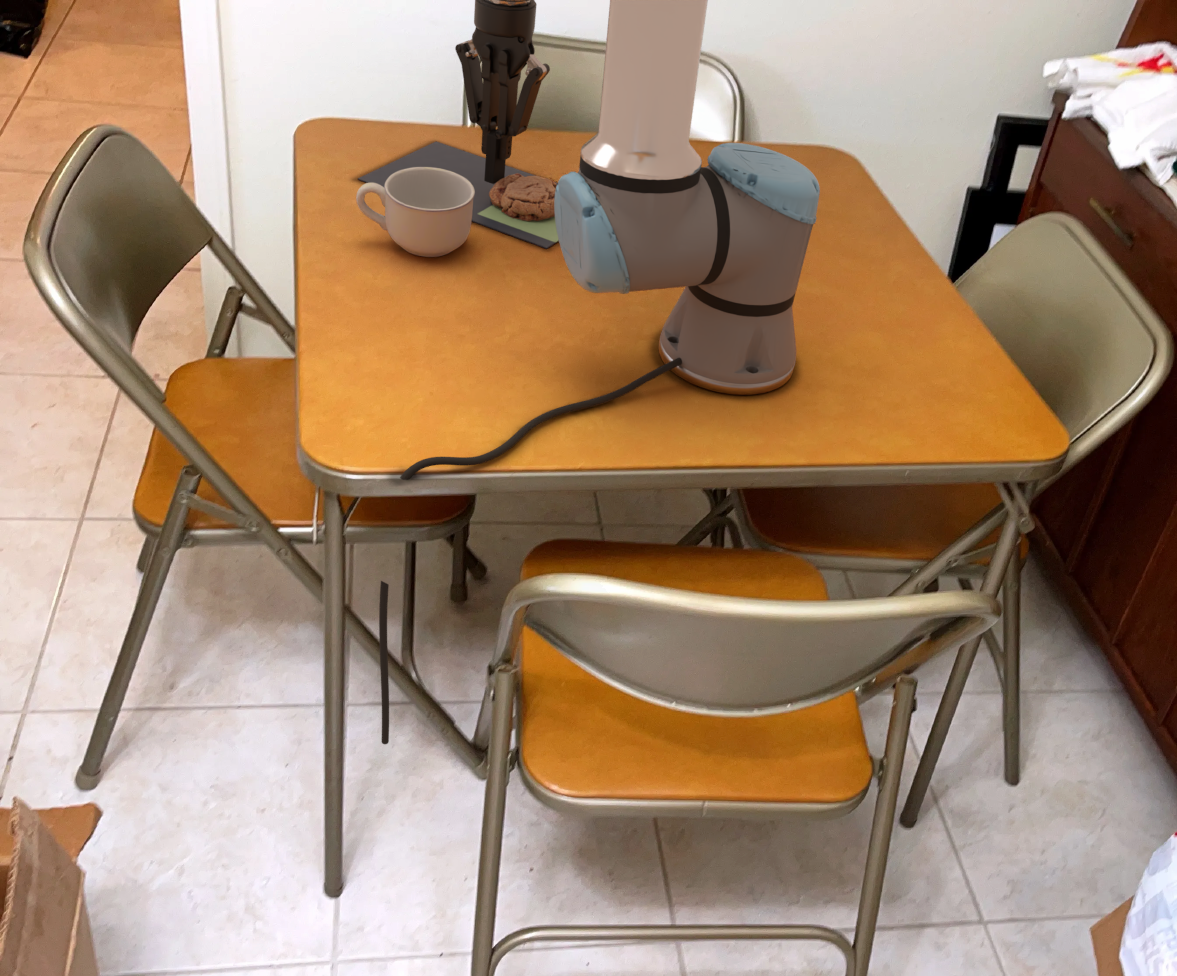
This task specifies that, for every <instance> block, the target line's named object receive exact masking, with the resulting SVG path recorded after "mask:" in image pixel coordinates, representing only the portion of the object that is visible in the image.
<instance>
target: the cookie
mask: <svg viewBox="0 0 1177 976" xmlns="http://www.w3.org/2000/svg"><path fill="white" fill-rule="evenodd" d="M555 182H556V181H554V180H553V179H551V178H547V177H542V176H539V175H536V176H527V177H524V176H522V175H521V174H518V173H517V174H513V175H508V176H507V177H505V178H502V179H500V180H499V181H498V182H496V184H495V185H494V186H493V188H492V189H491V190H490V192H489V196H490V198H491V202H492V204H493V205H494V206H498V207H499V208H501V209H502V211H501V212H503V213H505V214H506V215H508V216H509V217H511V218H515V219H521V220H526V221H530V220H535V221H539V220H544V219H547V218H551V217H554V216H555V211H554V198H555V190H556V185H557V184H556V183H557V182H556V183H555Z"/></svg>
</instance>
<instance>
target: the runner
mask: <svg viewBox="0 0 1177 976" xmlns="http://www.w3.org/2000/svg"><path fill="white" fill-rule="evenodd" d="M485 161H486V157H483V156H480V155H478V154H474V153H471V152H469V151H466V150H463V149H459V148H457V147H454V146H451V145H448V144H445V143H443V142H440V141H436V140H435V141H433V142H432V143H429V144H427V145H425V146H423V147H420V148H419V149H417V150H414V151H412V152H410V153H408V154H407V155H404V156H402V157H400V158H398V159H396V160H394V161H391V162H390V163H387V164H385V165H383V166H380V167H378V168H376V169H374V170H372V171H370V172H368V173H366V174H364V175H362V176H360V177H357V181H360V182H363V183H364V184H366V183H377V184H379V185H381V186H382V187H384V186H385V182H386V180H387V179H388V178H389V176H391V175H392V174H393V173H395V172H397V171H400V170H403V169H407V168H414V167H432V168H440V169H444V170H448V171H451V172H454V173H456V174H458V175H461V176H463V177H464V178H466V179H467V180H468V181H469V182H470V183H471V184H472V185H473V187H474V190H475V195H474V198H473V210H472V221H471V223H474V224H477V225H480V226H483V227H485V228H488V229H490V230H493V231H496V232H498V233H502V234H503V235H507V236H510V237H512V238H514V239H518V240H521V241H523V242H526V243H529V244H532V245H535V246H537V247H539V248H541V249H545V250H548V249H549V248H551V247H552V246H554V245H556V244H557V243H559V239H558V235H557V229H556V222H555V216H554V217H551V218H547V219H544V220H539V221H535V220H530V221H526V220H521V219H515V218H511V217H509V216H508V215H506V214H505V213H503V212H501V211H502V209H501V208H499V207H498V206H494V205H493V204H492V202H491V198H490V196H489V192H490V190H491V189H492V188H493V186H494V185H495V184H496V183H495V184H492V183H489V182H486V181H484V178H485ZM517 173H518V174H521V175H522V176H524V177H527V176H537V175H536V174H533V173H530V172H527V171H524V170H521V169H518V168H515V167H512V166H509V165H507V164H505V176H504V178H505V177H507V176H508V175H513V174H517ZM554 182H555V183H556V184H557V185H558V182H556V181H554ZM557 185H556V187H557Z"/></svg>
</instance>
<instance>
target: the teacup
mask: <svg viewBox="0 0 1177 976" xmlns="http://www.w3.org/2000/svg"><path fill="white" fill-rule="evenodd" d="M370 193H374V194H376V195H377V196H378V197H379V199H380V201H381V205H382V206H383V207H384V215H383V214H381V213H379V212H377V211H376V210H374V209H373V208H371V207H370V206H369V205H368V204H367V202H366V201H365V196H366V195H367V194H370ZM474 195H475V190H474V187H473V185H472V184H471V183H470V182H469V181H468V180H467V179H466V178H464V177H463V176H461V175H458V174H456V173H454V172H451V171H448V170H444V169H440V168H432V167H414V168H407V169H403V170H400V171H397V172H395V173H393V174H392V175H391V176H389V178H388V179H387V180H386V182H385V186H384V187H382V186H381V185H379V184H377V183H363V184H362V185H361V186H360V187H359V188H358V189H357V192H356V197H355V198H356V199H355V201H356V205H357V207H358V209H359V211H360V212H361V213H362V214H363V215H364V216H365V217H367V218H368V219H370V220H371V221H373V222H375V223H377V224H378V225H379V226H380V228H381V229H382V230H383V231H387V232H388V235H389V237H391V240H392V241H394V243H395V244H396V245H398V246H400V247H401V249H403V250H404V251H406V252H408V253H409V254H412V255H415V256H418V257H423V258H438V257H442V256H445V255H448V254H450V253H451V252H453V251H455V250H456V249H459V247H461V246H462V245H463V244H464V243H465V242H466V241H467V239H468V237H469V235H470V232H471V228H472V227H471V226H472V210H473V198H474Z"/></svg>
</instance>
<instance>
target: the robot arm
mask: <svg viewBox="0 0 1177 976" xmlns="http://www.w3.org/2000/svg"><path fill="white" fill-rule="evenodd" d="M708 1H709V0H609V7H608V8H609V9H608V10H609V11H608V17H607V18H608V20H607V30H606V41H605V51H604V65H603V76H602V85H601V97H600V109H599V121H598V131H597V132H596V134H595V135H594V136H592V137H591V138H589V140H587V141H586V142H585V143H584V144H582V146H581V148H580V155H579V166H578V172H576V171H569V172H568V173H566V174H563V175H562V176H560V178H559V179H558V181H557V183H558V185H557V187H556V190H555V198H554V211H555V222H556V229H557V235H558V239H559V241H558V243H559V247H560V251H561V252H562V257H563V260H564V263H565V264H566V267H567V269H568V271H569V273H570V275H571V277H572V278H573V280H574V281H575V282H576V283H577V284H578V286H579V287H581V288H582V289H583V290H585V291H587V292H589V293H593V294H611V293H612V294H613V293H619V294H621V295H627V294H629V293H633V292H642V291H653V290H662V289H664V290H665V289H672V288H673V289H674V288H675V289H676V288H684V289H683V291H682V292H681V294H680V296H679V298H678V300H677V301H676V303H675V305H674V306H673V308H672V310H671V311H670V312H669V315H668V317H667V318H666V320H665V322H664V324H663V326H662V329H661V331H660V335H659V341H658V354H659V357H660V359H661V361H662V362H663V365H661V366H659V367H657V368H655V369H653V370H651V371H649V372H647V373H645V374H643V375H642V376H639V377H638V378H636V379H635V380H633V381H631V382H629V383H628V384H626V385H624V386H622V387H620V388H618V389H615V390H613V391H611V392H608V393H606V394H603V395H600V396H597V397H593V398H589V399H586V400H582V401H578V402H574V403H570V404H569V403H568V404H566V405H563V406H559V407H556V408H554V409H551V410H548V411H546V412H544V413H542V414H540V415H537V416H536V417H534V418H533V419H531V420H530V421H528V422H527V423H525V424H524V425H523V426H522V427H521V428H520V429H518V430H517V431H516V432H515V433H514V434H513V435H512V436H511V437H509V438H508V439H507V440H506V441H505V442H503V443H502V444H501V445H499V446H498V447H496V448H494V449H493V450H490V451H488V452H485V453H483V454H480V455H477V456H468V457H467V456H466V457H462V456H461V457H459V456H431V457H427V458H423V459H421V460H419V461H416V462H415V463H413V464H412V465H410V466H409V467H407V469H406V470H405V471H403V473H402V474H401V475H400V477H399V478H400V479H401V480H403V481H407V480H410V479H411V478H412V477H413V476H414V475H415V474H416V473H418V472H419V471H421V470H423V469H425V468H428V467H432V466H464V467H465V466H476V465H482V464H485V463H488V462H490V461H493V460H495V459H497V458H499V457H501V456H502V455H504V454H505V453H507V452H508V451H509V450H511V449H512V448H513V447H515V445H517V444H518V443H519V442H520V441H521V440H522V439H523V438H524V437H525V436H526V435H527V434H529V433H530V432H531V431H532V430H533V429H535V428H537V427H538V426H539V425H541V424H543V423H545V422H547V421H549V420H551V419H555V418H556V417H559V416H562V415H565V414H568V413H572V412H576V411H580V410H584V409H588V408H592V407H595V406H599V405H602V404H605V403H608V402H611V401H614V400H617V399H618V398H620V397H622V396H625V395H626V394H629V393H630V392H633V391H634V390H636V389H637V388H639V387H641V386H643V385H645V384H646V383H648V382H650V381H651V380H654V379H656V378H657V377H660V376H662V375H663V374H665V373H667V372H669V371H671V372H672V373H674V374H675V375H676V376H677V377H679V378H680V379H682V380H684V381H686V382H688V383H690V384H692V385H694V386H696V387H697V386H698V387H700V388H702V389H706V390H709V391H713V392H717V393H722V394H729V395H742V396H743V395H757V394H765V393H767V392H768V393H769V392H771V391H774V390H777V389H779V388H780V387H782V386H784V385H785V384H787V382H788V381H789V380H790V379H791V377H792V375H793V373H794V368H795V366H796V362H797V361H796V360H797V342H796V332H795V323H794V321H795V320H794V312H793V307H794V306H793V305H794V301H795V297H796V293H797V290H798V286H799V281H800V278H801V274H802V270H803V265H804V261H805V258H806V254H807V250H808V246H809V242H810V238H811V234H812V230H813V226H814V225H815V224H816V222H817V219H818V218H817V213H818V206H819V201H820V193H821V187H820V184H819V181H818V178H817V177H816V176H815V174H814V173H813V172H812V171H811V170H810V169H809V168H808V167H807V166H805V165H804V164H803V163H801V162H799V161H797V160H795V159H794V158H792V157H790V156H788V155H785V154H784V153H781V152H778V151H775V150H772V149H770V148H766V147H763V146H759V145H755V144H748V143H742V142H725V143H720V144H718V145H716V146H714V147H713V148H712V149H711V151H710V154H709V155H707V164H708V165H706V166H704V167H703V166H702V164H703V159H702V157H701V156H700V154H699V153H698V152H697V151H696V150H695V148H694V147H693V146H692V145H691V143H690V136H691V128H692V127H691V126H692V121H693V120H692V119H693V113H694V106H695V98H696V90H697V84H698V77H699V68H700V61H701V53H702V48H703V45H702V44H703V38H704V32H705V24H706V16H707V10H708V9H707V8H708ZM473 13H474V15H473V24H474V27H475V29H474V31H473V33H472V34H471V39H469V40H466V41H463V42H460V43H458V44H456V45H455V47H454V49H455V52H456V55H457V57H458V59H459V62H460V64H461V71H462V77H463V84H464V91H465V97H466V104H467V112H468V119H469V121H470V123H472V124H476V125H477V126H479V127H480V129H481V148H480V149H481V153H482V154H483V155H485V158H486V161H485V178H484V181H486V182H489V183H492V184H495V183H496V182H498V181H499V180H500V179H502V178H504V176H505V165H506V161H507V160H508V159H510V158H511V156H512V146H513V137H517V136H519V135H521V134H522V133H524V132H526V131H527V129H528V127H529V123H530V121H531V117H532V114H533V112H534V111H533V110H534V107H535V104H536V100H537V98H538V94H539V91H540V88H541V86H542V82H543V80H544V79H545V78H546V77H547V75H548V74H549V73H550V72H551V68H550V65H549V64H548V63H542V62H541V61H540V60H539V59H538V57H537V56H536V55H535V52H536V51H535V49H536V48H535V45H534V43H533V36H534V34H535V33H534V32H535V29H536V28H535V27H536V16H537V2H536V0H474V12H473ZM526 66H527V67H526ZM525 67H526V71H525V72H524V73H525V75H526V77H525V79H524V81H523V83H522V86H521V90H520V93H519V96H518V90H519V82H520V80H521V77H522V71H523V69H525ZM379 585H380V586H379V603H378V605H379V608H378V609H379V610H378V613H379V614H378V615H379V616H378V618H379V619H378V632H379V633H378V634H379V635H378V636H379V666H380V693H381V694H380V697H381V744H383V745H388V744H389V741H390V681H389V680H390V679H389V655H388V653H389V652H388V651H389V650H388V603H389V588H390V587H389V584H388V583H387V582H385V581H383V580H380V584H379Z"/></svg>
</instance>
